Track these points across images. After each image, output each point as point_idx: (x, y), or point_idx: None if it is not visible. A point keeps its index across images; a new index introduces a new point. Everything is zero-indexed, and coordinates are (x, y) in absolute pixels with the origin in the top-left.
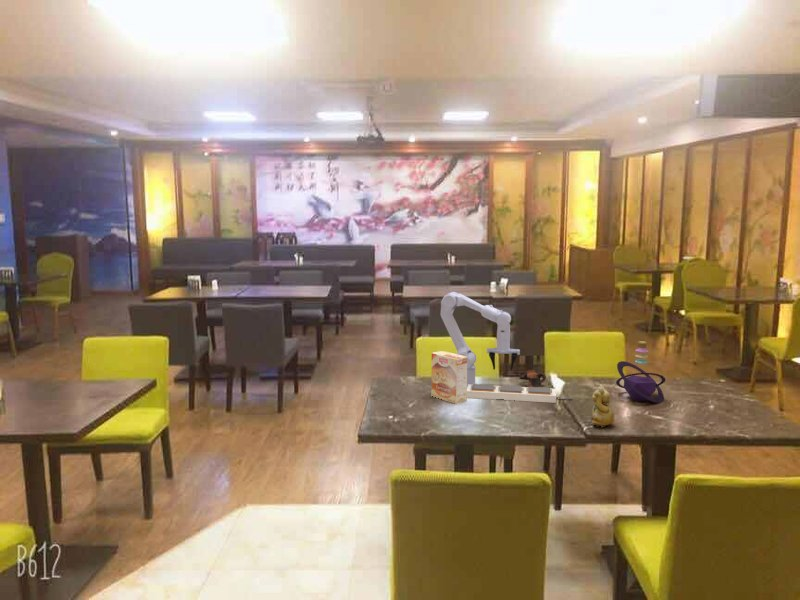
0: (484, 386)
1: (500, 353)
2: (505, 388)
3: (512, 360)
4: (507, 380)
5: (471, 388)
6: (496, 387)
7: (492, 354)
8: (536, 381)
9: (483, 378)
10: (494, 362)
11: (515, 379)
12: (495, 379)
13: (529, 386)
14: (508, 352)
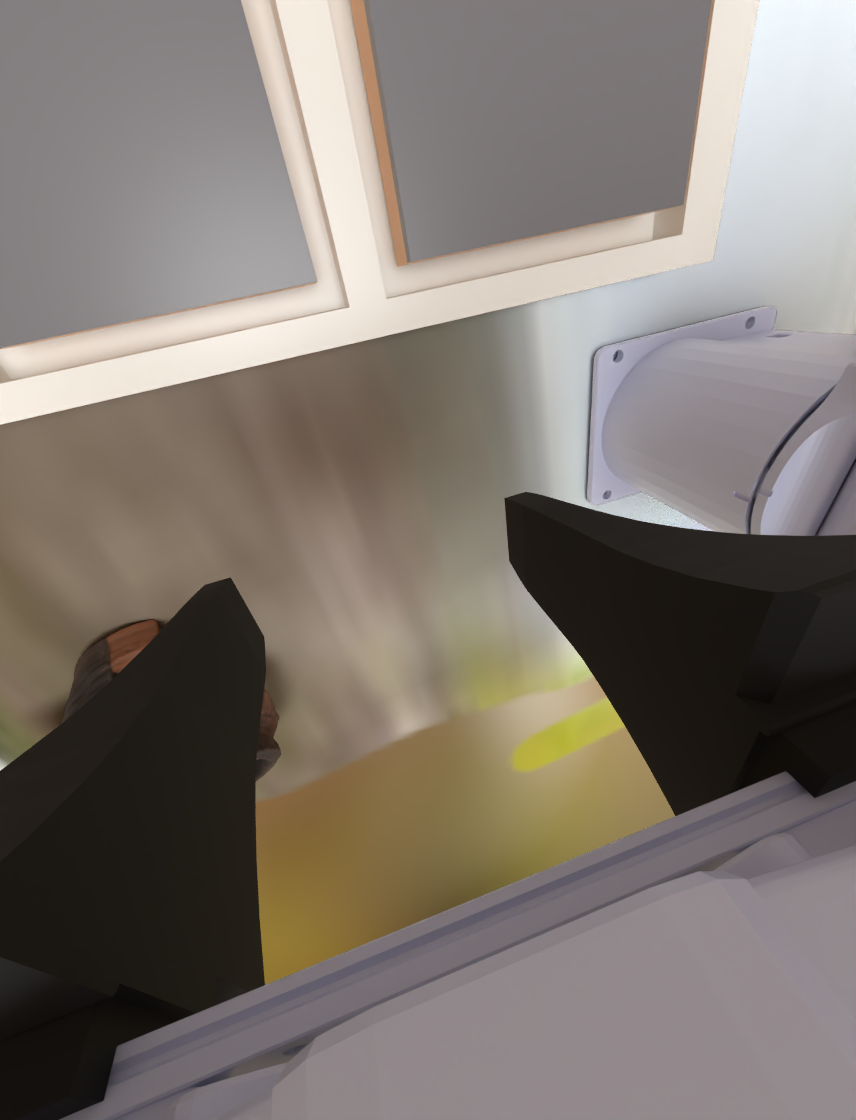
0: (532, 87)
1: (582, 855)
2: (154, 74)
3: (87, 737)
4: (391, 694)
5: (652, 232)
6: (363, 231)
7: (819, 687)
8: (70, 709)
9: (548, 655)
10: (586, 548)
11: (348, 734)
12: (472, 674)
13: (135, 632)
14: (232, 1095)
